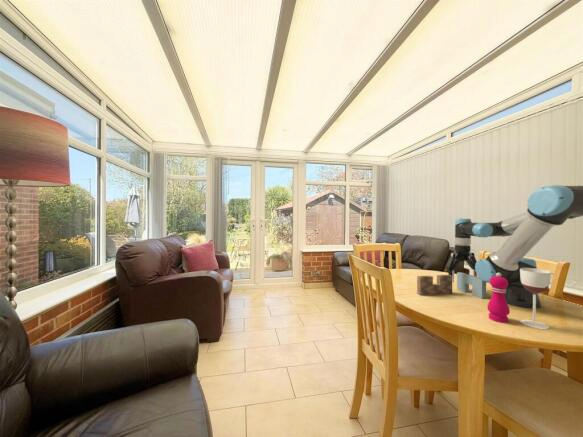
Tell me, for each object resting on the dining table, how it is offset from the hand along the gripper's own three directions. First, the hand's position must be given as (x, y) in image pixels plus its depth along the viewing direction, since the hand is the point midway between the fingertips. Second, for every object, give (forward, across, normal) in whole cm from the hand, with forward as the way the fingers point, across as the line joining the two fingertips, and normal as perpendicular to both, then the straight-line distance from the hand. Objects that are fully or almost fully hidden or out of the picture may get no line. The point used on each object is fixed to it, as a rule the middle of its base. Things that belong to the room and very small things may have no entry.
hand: (461, 280), depth 141 cm
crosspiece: (+5, 0, +6) cm, 8 cm away
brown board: (+6, +20, +3) cm, 21 cm away
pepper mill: (+5, +18, +37) cm, 41 cm away
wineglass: (+5, +8, +43) cm, 44 cm away
